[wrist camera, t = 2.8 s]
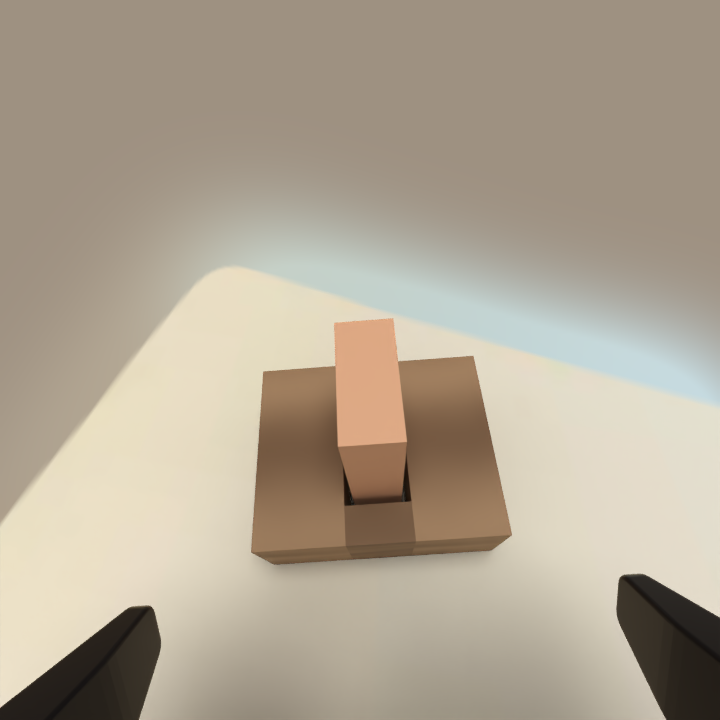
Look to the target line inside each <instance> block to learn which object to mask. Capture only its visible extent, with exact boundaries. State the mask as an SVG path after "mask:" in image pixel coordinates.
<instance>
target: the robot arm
mask: <svg viewBox="0 0 720 720" xmlns="http://www.w3.org/2000/svg"><path fill="white" fill-rule="evenodd" d="M616 610H617V618H618V621H619V624H620V626H621V628H622V630H623V632H624V634H625V637H626V639H627V641H628V643H629V645H630V647H631V649H632V651H633V653H634V655H635V657H636V659H637V661H638V664H639V666H640V668H641V670H642V672H643V674H644V676H645V678H646V680H647V682H648V684H649V686H650V688H651V691H652V693H653V695H654V697H655V699H656V701H657V703H658V705H659V707H660V709H661V711H662V713H663V714H664V716H665V718H666V720H720V617H718V616H716V615H714V614H713V613H711V612H709V611H707V610H706V609H704V608H702V607H700V606H699V605H697V604H695V603H694V602H692V601H690V600H688V599H687V598H685V597H683V596H681V595H680V594H678V593H676V592H674V591H673V590H671V589H669V588H668V587H666V586H664V585H662V584H661V583H659V582H657V581H655V580H654V579H652V578H650V577H648V576H646V575H644V574H628V575H622V576H621V577H620V579H619V583H618V596H617V608H616ZM160 649H161V638H160V633H159V629H158V625H157V620H156V616H155V612H154V609H153V608H152V607H151V606H133V607H130V608H128V609H126V610H125V611H124V612H122V613H121V614H120V615H118V616H117V617H116V618H115V619H113V620H112V621H111V622H109V623H108V624H107V625H106V626H104V627H103V628H102V629H101V630H99V631H98V632H97V633H95V634H94V635H93V636H92V637H90V638H89V639H88V640H86V641H85V642H84V643H83V644H81V645H80V646H79V647H77V648H76V649H75V650H74V651H72V652H71V653H70V654H68V655H67V656H66V657H65V658H63V659H62V660H61V661H59V662H58V663H57V664H56V665H54V666H53V667H52V668H51V669H49V670H48V671H47V672H45V673H44V674H43V675H42V676H40V677H39V678H38V679H36V680H35V681H34V682H33V683H31V684H30V685H29V686H27V687H26V688H25V689H24V690H22V691H21V692H20V693H18V694H17V695H16V696H15V697H13V698H12V699H11V700H10V701H8V702H7V703H6V704H4V705H3V706H2V707H1V708H0V720H139V717H140V714H141V711H142V708H143V705H144V702H145V698H146V695H147V692H148V689H149V686H150V682H151V679H152V676H153V673H154V670H155V666H156V663H157V660H158V657H159V653H160Z"/></svg>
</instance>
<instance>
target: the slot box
mask: <svg viewBox="0 0 720 720" xmlns="http://www.w3.org/2000/svg"><path fill="white" fill-rule="evenodd" d="M398 366H399V375H400V384H401V393H402V402H403V410H404V419H405V428H406V437H407V448H406V458H405V469H404V488H405V497H406V502H395V503H381V504H366V505H351V500H350V487H349V484H348V480H347V477H346V473H345V470H344V466H343V463H342V459H341V456H340V452H339V449H338V434H337V399H336V366H332V367H319V368H305V369H292V370H279V371H265V372H263V385H262V399H261V414H260V429H259V444H258V459H257V474H256V488H255V503H254V518H253V533H252V548H251V552H252V553H253V554H255V555H257V556H259V557H261V558H263V559H265V560H267V561H269V562H270V563H272V564H290V563H305V562H320V561H336V560H351V559H366V558H382V557H397V556H412V555H427V554H443V553H458V552H473V551H489V550H492V549H494V548H495V547H497V546H498V545H499V544H501V543H502V542H503V541H505V540H506V539H507V538H509V537H510V536H511V535H512V533H511V528H510V523H509V519H508V514H507V510H506V505H505V500H504V496H503V491H502V486H501V482H500V477H499V473H498V468H497V463H496V459H495V454H494V449H493V445H492V440H491V436H490V431H489V426H488V422H487V417H486V412H485V408H484V403H483V399H482V394H481V389H480V385H479V380H478V375H477V371H476V366H475V362H474V357H473V356H466V357H453V358H440V359H426V360H413V361H399V362H398Z"/></svg>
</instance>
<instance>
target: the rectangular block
mask: <svg viewBox="0 0 720 720" xmlns="http://www.w3.org/2000/svg"><path fill="white" fill-rule="evenodd" d="M334 330H335V364H336V399H337V434H338V449H339V452H340V456H341V459H342V463H343V466H344V470H345V473H346V477H347V480H348V484H349V487H350V491H351V494H352V497H353V501H354V504H355V505H366V504H381V503H395V502H401V500H402V490H403V479H404V469H405V458H406V448H407V437H406V428H405V419H404V410H403V402H402V393H401V384H400V375H399V366H398V357H397V349H396V340H395V331H394V322H393V318H392V319H379V320H366V321H353V322H340V323H334Z"/></svg>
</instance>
